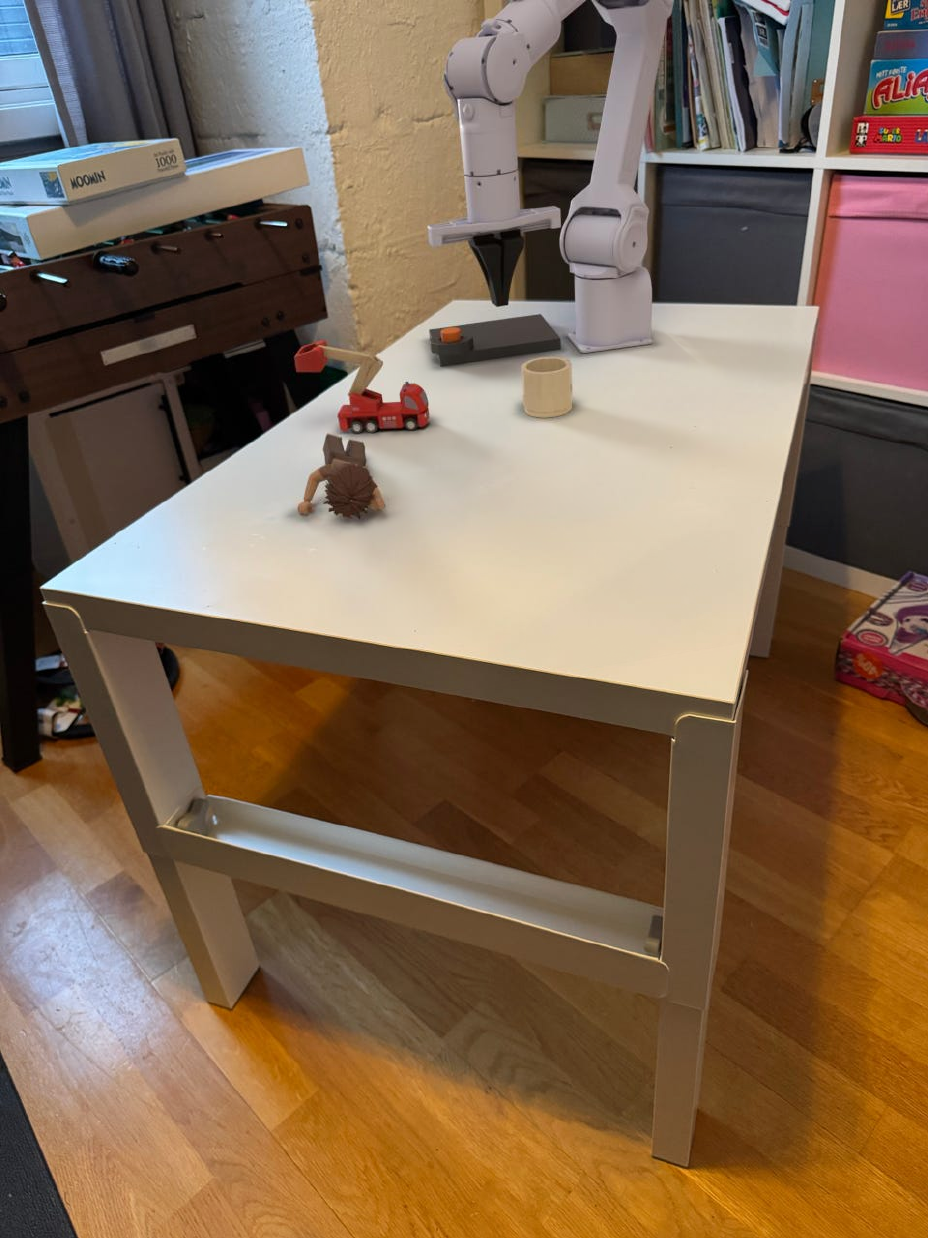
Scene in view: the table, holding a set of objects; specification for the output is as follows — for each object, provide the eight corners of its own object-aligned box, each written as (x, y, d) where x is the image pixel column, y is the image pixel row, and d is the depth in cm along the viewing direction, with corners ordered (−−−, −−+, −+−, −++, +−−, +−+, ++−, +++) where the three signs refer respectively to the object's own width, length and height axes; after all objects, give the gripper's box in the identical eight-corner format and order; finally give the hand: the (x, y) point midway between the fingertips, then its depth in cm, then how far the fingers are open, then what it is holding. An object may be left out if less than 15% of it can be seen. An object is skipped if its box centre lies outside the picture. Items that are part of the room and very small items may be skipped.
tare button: (459, 336, 116) (458, 325, 115) (462, 342, 113) (461, 331, 113) (440, 339, 115) (439, 328, 115) (442, 344, 113) (441, 334, 113)
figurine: (302, 487, 93) (304, 545, 80) (283, 441, 90) (282, 493, 77) (375, 462, 93) (389, 516, 80) (358, 415, 90) (369, 463, 77)
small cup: (565, 396, 102) (564, 353, 99) (577, 413, 97) (576, 369, 94) (519, 403, 101) (517, 360, 98) (529, 420, 97) (527, 376, 94)
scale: (541, 325, 125) (540, 303, 123) (562, 352, 115) (561, 328, 113) (424, 341, 124) (422, 319, 122) (435, 370, 113) (432, 347, 112)
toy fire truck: (428, 430, 97) (418, 343, 92) (309, 436, 99) (291, 351, 94) (432, 418, 100) (422, 333, 95) (315, 424, 102) (299, 341, 96)
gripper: (543, 158, 97) (548, 285, 105) (415, 176, 95) (430, 305, 102) (566, 165, 91) (569, 299, 99) (431, 185, 89) (445, 321, 97)
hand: (500, 303), depth 100 cm, fingers closed
